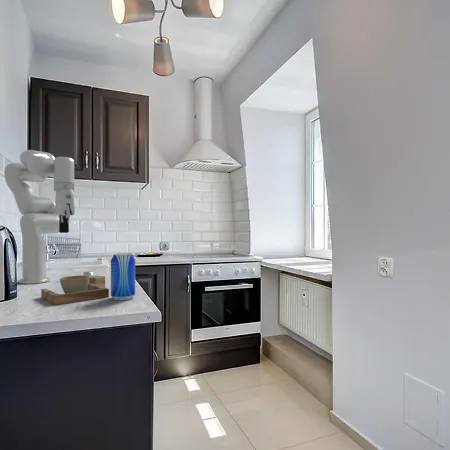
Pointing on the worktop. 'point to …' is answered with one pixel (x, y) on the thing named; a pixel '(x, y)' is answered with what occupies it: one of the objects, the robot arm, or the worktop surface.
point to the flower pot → (74, 283)
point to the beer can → (122, 276)
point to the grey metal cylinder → (89, 274)
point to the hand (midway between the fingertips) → (64, 232)
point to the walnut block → (97, 280)
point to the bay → (75, 295)
